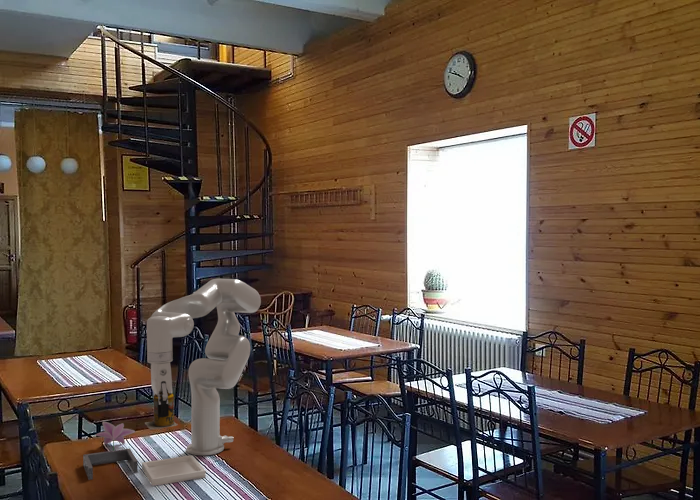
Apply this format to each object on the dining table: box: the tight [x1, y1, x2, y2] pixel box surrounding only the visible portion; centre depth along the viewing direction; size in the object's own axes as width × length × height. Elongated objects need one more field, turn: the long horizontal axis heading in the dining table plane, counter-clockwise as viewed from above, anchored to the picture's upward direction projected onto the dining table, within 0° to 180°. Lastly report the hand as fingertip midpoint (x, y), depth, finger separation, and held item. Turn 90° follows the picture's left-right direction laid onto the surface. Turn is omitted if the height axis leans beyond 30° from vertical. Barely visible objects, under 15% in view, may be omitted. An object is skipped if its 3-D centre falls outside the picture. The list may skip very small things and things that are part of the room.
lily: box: [94, 421, 136, 451], centre depth 233 cm, size 12×12×10 cm
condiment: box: [144, 390, 179, 431], centre depth 208 cm, size 7×8×12 cm
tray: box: [141, 454, 207, 487], centre depth 209 cm, size 16×16×2 cm
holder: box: [82, 447, 139, 481], centre depth 212 cm, size 14×14×4 cm
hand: (161, 413), depth 208 cm, fingers closed on condiment, 6 cm apart
